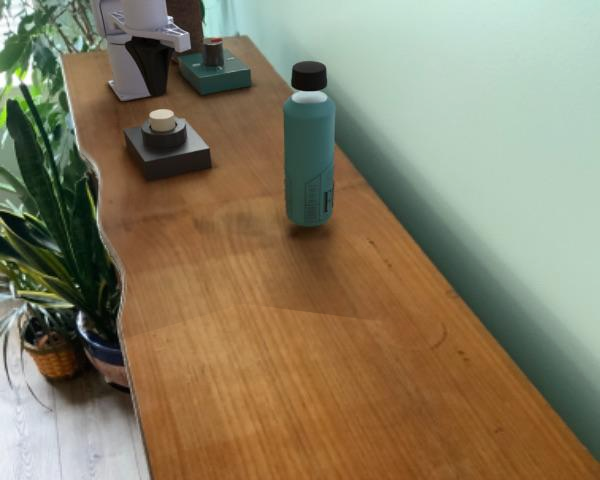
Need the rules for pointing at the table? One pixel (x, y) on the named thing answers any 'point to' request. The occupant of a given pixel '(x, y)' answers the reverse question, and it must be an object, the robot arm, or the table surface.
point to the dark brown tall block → (187, 23)
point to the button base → (167, 149)
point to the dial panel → (215, 73)
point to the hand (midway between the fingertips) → (158, 94)
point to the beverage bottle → (309, 147)
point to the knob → (212, 51)
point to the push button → (162, 120)
